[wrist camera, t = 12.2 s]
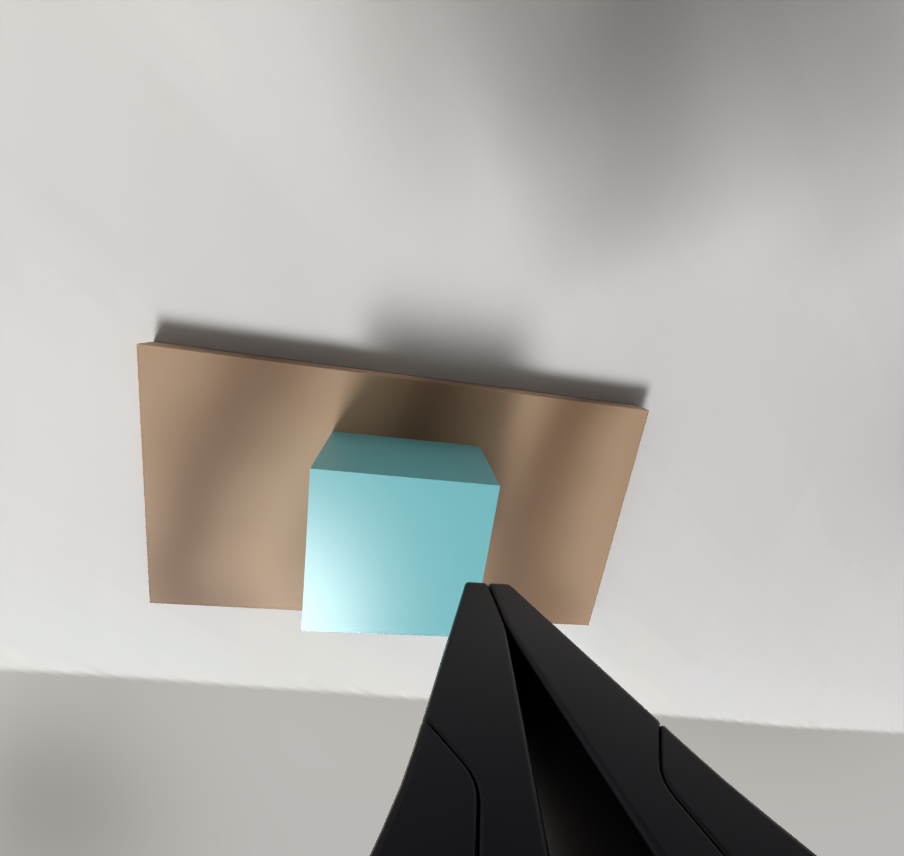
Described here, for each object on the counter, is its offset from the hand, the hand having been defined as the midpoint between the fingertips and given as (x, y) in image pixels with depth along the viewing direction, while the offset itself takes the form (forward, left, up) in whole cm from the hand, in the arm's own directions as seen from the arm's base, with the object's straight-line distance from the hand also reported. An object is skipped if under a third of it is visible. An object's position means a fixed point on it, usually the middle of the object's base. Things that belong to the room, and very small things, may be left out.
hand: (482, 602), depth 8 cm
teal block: (+1, +3, -10) cm, 10 cm away
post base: (+1, +3, -11) cm, 11 cm away
